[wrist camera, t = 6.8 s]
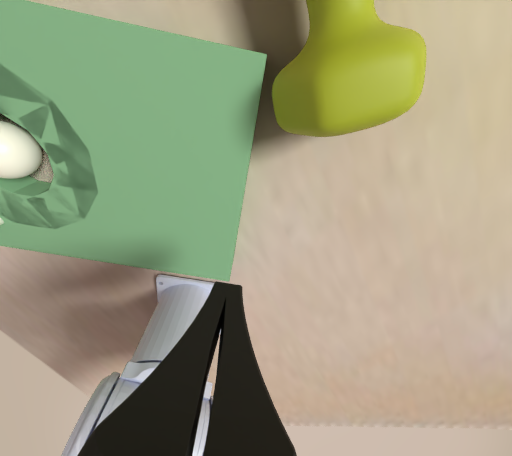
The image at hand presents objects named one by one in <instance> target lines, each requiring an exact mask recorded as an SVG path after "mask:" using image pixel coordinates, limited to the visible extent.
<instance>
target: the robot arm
mask: <svg viewBox="0 0 512 456" xmlns="http://www.w3.org/2000/svg"><path fill="white" fill-rule="evenodd" d="M156 286H157V299H158V304H157V306H156V308H155V311H154V313H153V315H152V317H151V319H150V321H149V323H148V325H147V327H146V330H145V332H144V334H143V336H142V338H141V340H140V342H139V344H138V346H137V348H136V351H135V353H134V355H133V357H132V359H131V361H129V362H127V364H126V366H125V368H124V371H123V373H122V375H121V377H120V373H117V372H113V373H112V374H111V375H110V376H107V377H106V378H104V379H102V381H101V382H100V383H99V385H98V386H97V388H96V389H95V391H94V393H93V394H92V396H91V398H90V400H89V401H88V403H87V405H86V407H85V409H84V411H83V413H82V414H81V416H80V418H79V420H78V422H77V424H76V426H75V428H74V430H73V432H72V434H71V436H70V438H69V440H68V442H67V444H66V446H65V448H64V451H63V453H62V455H61V456H297V455H296V452H295V449H294V446H293V444H292V442H291V441H290V439H289V437H288V435H287V432H286V430H285V428H284V426H283V424H282V422H281V420H280V418H279V416H278V413H277V411H276V409H275V407H274V405H273V402H272V400H271V397H270V395H269V392H268V390H267V388H266V385H265V383H264V380H263V378H262V375H261V372H260V369H259V366H258V363H257V360H256V357H255V354H254V351H253V348H252V344H251V340H250V337H249V332H248V328H247V323H246V319H245V313H244V307H243V297H242V286H241V285H234V284H228V283H222V282H215V283H212V282H206V281H199V280H193V279H187V278H180V277H174V276H167V275H158V276H157V277H156ZM219 335H220V344H219V354H218V365H217V375H216V383H215V390H214V395H213V396H211V390H212V383H210V382H208V376H209V371H210V367H211V363H212V359H213V356H214V352H215V348H216V345H217V341H218V338H219ZM119 377H120V378H119Z"/></svg>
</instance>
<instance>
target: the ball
mask: <svg viewBox="0 0 512 456" xmlns="http://www.w3.org/2000/svg"><path fill="white" fill-rule="evenodd" d="M41 162H42V150H41V147H40V145H39V143H38V142H37V141H36V139H35V138H34V137H33V136H32V135H31V134H30V133H28V132H27V131H26V130H24V129H23V128H21V127H19V126H17V125H14V124H12V123H8V122H4V121H0V178H6V179H15V178H22V177H25V176H28V175H30V174H32V173H33V172H35V171H36V170H37V169H38V168H39V166H40V164H41Z"/></svg>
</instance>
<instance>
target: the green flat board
mask: <svg viewBox="0 0 512 456" xmlns="http://www.w3.org/2000/svg"><path fill="white" fill-rule="evenodd" d="M266 60H267V54H263V53H259V52H254V51H250V50H245V49H241V48H237V47H232V46H228V45H223V44H219V43H214V42H210V41H205V40H201V39H196V38H192V37H187V36H183V35H178V34H174V33H169V32H165V31H160V30H156V29H151V28H147V27H142V26H138V25H133V24H129V23H124V22H120V21H115V20H111V19H106V18H102V17H97V16H93V15H88V14H84V13H80V12H75V11H71V10H66V9H62V8H57V7H53V6H48V5H44V4H39V3H35V2H30V1H26V0H0V113H1V114H3V115H4V116H6V117H8V118H9V119H11V120H12V121H14V122H15V123H17V124H19V125H20V126H22V127H23V128H25V129H26V130H28V131H29V132H30V133H31V135H32V136H33V137H34V138H35V139H36V141H37V142H38V143H39V144H40V145H41V147H42V148H43V149H44V150H45V151H46V153H47V154H48V157H49V160H50V163H51V167H52V170H53V173H54V177H53V180H52V183H48V182H43V181H38V180H36V179H34V178H33V177H31V176H29V175H28V176H25V177H22V178H15V179H6V178H0V218H1V219H2V220H3V221H4V223H3V224H2V225H0V246H5V247H12V248H18V249H24V250H31V251H37V252H44V253H50V254H56V255H63V256H69V257H76V258H82V259H89V260H95V261H101V262H108V263H114V264H121V265H127V266H133V267H140V268H146V269H153V270H159V271H165V272H172V273H178V274H185V275H191V276H198V277H204V278H210V279H217V280H223V281H229V280H230V274H231V269H232V263H233V257H234V251H235V245H236V239H237V233H238V227H239V221H240V215H241V209H242V203H243V197H244V191H245V185H246V179H247V173H248V167H249V161H250V155H251V150H252V144H253V138H254V132H255V126H256V120H257V114H258V108H259V102H260V96H261V90H262V84H263V78H264V72H265V66H266Z"/></svg>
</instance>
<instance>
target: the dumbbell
mask: <svg viewBox="0 0 512 456" xmlns="http://www.w3.org/2000/svg"><path fill="white" fill-rule="evenodd" d="M306 3H307V8H308V13H309V21H310V30H309V36H308V39H307V42H306V44H305V46H304V48H303V49H302V51H301V52H300V53H299V54H298V55H297V57H296V58H295V59H293V60H292V61H291V62H290V63H289V64H288V65H287V66H285V67H284V68H283V69H282V70H281V71H280V72H279V74H278V75H277V76H276V78H275V80H274V82H273V87H272V101H273V107H274V112H275V116H276V120H277V123H278V125H279V126H280V127H281V128H282V129H283V130H285V131H286V132H289V133H293V134H299V135H306V136H315V137H330V136H338V135H343V134H348V133H352V132H356V131H360V130H364V129H367V128H371V127H374V126H377V125H380V124H383V123H386V122H388V121H390V120H392V119H395V118H397V117H398V116H400V115H402V114H403V113H405V112H407V111H408V110H409V109H410V108H411V107H412V106H413V105H414V104H415V103H416V101H417V100H418V98H419V96H420V94H421V92H422V88H423V84H424V77H425V67H426V45H425V42H424V39H423V38H422V37H421V35H420V34H419V33H417V32H415V31H413V30H411V29H407V28H403V27H398V26H392V25H389V24H386V23H384V22H383V21H381V20H380V19H379V17H378V16H377V14H376V11H375V8H374V0H306Z"/></svg>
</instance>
